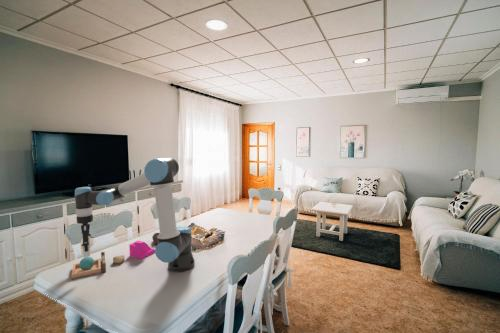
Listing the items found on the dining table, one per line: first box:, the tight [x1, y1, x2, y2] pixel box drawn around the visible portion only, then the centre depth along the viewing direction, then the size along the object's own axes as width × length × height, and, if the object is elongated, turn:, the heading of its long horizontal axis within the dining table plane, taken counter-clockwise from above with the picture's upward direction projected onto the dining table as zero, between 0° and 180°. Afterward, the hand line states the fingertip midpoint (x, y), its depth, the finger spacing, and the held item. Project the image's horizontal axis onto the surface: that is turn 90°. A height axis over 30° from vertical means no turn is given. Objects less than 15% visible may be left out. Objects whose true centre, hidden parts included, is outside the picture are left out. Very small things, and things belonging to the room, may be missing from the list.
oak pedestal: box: [112, 254, 125, 265], centre depth 147 cm, size 6×6×3 cm
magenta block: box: [128, 240, 155, 260], centre depth 158 cm, size 12×10×10 cm
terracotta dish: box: [71, 258, 102, 280], centre depth 137 cm, size 13×13×2 cm
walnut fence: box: [100, 251, 107, 274], centre depth 142 cm, size 18×2×5 cm, turn 33°
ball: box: [78, 256, 95, 270], centre depth 136 cm, size 7×7×7 cm
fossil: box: [151, 232, 160, 246], centre depth 178 cm, size 11×9×10 cm
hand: (87, 252), depth 136 cm, fingers open, 13 cm apart
